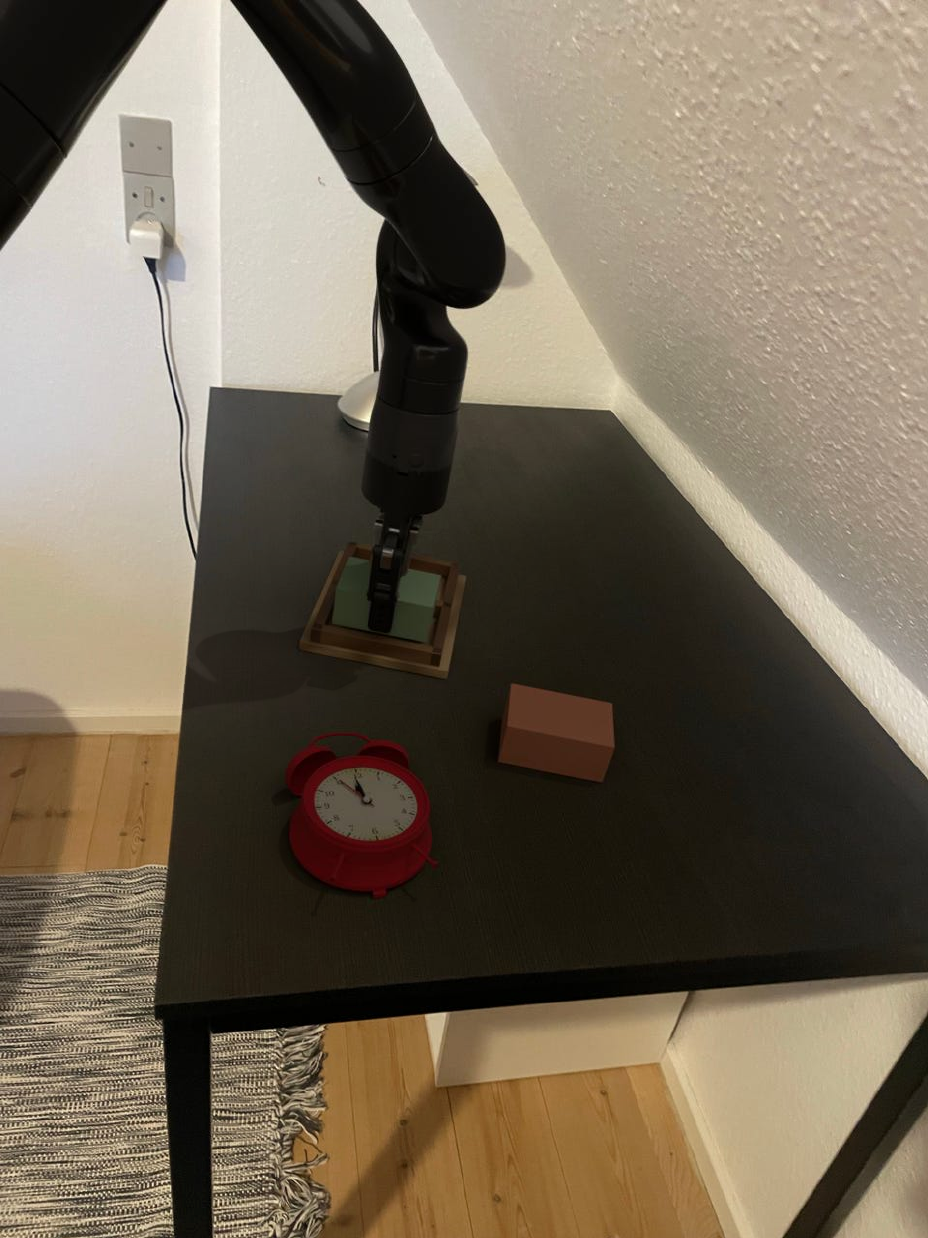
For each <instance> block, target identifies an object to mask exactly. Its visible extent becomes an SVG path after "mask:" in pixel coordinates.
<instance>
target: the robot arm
mask: <svg viewBox="0 0 928 1238" xmlns="http://www.w3.org/2000/svg"><path fill="white" fill-rule="evenodd" d="M168 1H169V0H0V252H1V251H3V248H5V246H6V245H7V243H8V242H9V241H10V239H11V238H12V237H13V235H14V234H15V233H16V232H17V230H18V229H19V228H20V226H21V225H22V223H23V222H24V221H25V219H26V218H27V217H28V216H29V214H30V213H31V210H33V209H34V207H35V205H36V204H37V202H38V201H39V200H40V198H41V197H42V195H43V194H44V192H45V190H46V189H47V188H48V186H49V185H50V183H51V182H52V180H53V179H54V177H55V176H56V174H57V173H58V171H59V170H60V168H61V167H62V165H64V162H65V160H67V158H68V157H69V155H70V154H71V152H72V150H73V149H74V147H75V146H76V143H77V142H78V141H79V139H80V137H81V135H82V134H83V132H84V130H85V129H86V127H87V126H88V124H89V122H90V121H91V119H92V118H93V116H94V114H95V113H96V111H97V110H98V109H99V107H100V105H101V104H102V103H103V101H104V99H105V98H106V96H107V95H108V93H109V92H110V90H111V89H112V87H114V85H115V83H116V82H117V80H118V79H119V77H120V76H121V74H122V73H123V71H124V70H125V69H126V67H127V66H128V65H129V63H130V61H131V60H132V58H133V56H134V55H135V53H136V52H137V50H138V49H139V47H140V45H141V44H142V43H143V41H144V39H145V38H146V36H147V34H148V33H149V31H150V30H151V28H152V26H153V25H154V23H155V22H156V20H157V18H158V17H159V15H160V14H161V13H162V11H163V9H164V8H165V6H166V5H167V3H168ZM229 2H231V4H232V6H233V7H234V8H235V9H236V11H237V12H238V13H239V15H240V16H241V17H242V19H243V20H244V21H245V23H246V25H247V26H248V27H249V28H250V30H251V31H252V33H253V34H254V35H255V37H256V38H257V39H258V41H259V43H260V44H261V45H262V46H263V48H264V49H265V51H266V52H267V53H268V55H269V56H270V58H271V59H272V61H273V62H274V64H275V65H276V66H277V68H278V70H279V71H280V72H281V74H282V75H283V77H284V79H285V80H286V82H287V83H288V85H289V86H290V88H291V90H292V91H293V93H294V94H295V96H296V97H297V99H298V100H299V101H300V103H301V104H302V106H303V108H304V110H305V111H306V113H307V115H308V116H309V118H310V120H311V121H312V123H313V125H314V127H315V129H316V130H317V132H318V134H319V135H320V137H321V139H322V141H323V142H324V144H325V146H326V149H328V151H329V153H330V155H331V156H332V158H333V159H334V161H335V163H336V164H337V167H338V168H339V170H340V171H341V173H342V175H343V176H344V178H345V180H346V181H347V183H348V185H349V186H350V188H351V189H352V190H353V192H354V193H355V194H356V195H357V197H358V198H359V200H360V201H362V202H363V203H364V204H365V205H366V206H367V207H369V208H370V209H371V210H373V211H374V212H376V213H377V214H378V215H380V216H381V217H383V221H382V223H381V226H380V228H379V232H378V235H377V241H376V248H375V278H376V289H377V302H378V313H379V319H380V327H381V332H382V333H381V334H382V351H381V357H380V363H379V371H378V378H377V387H376V393H375V399H374V403H373V405H372V410H371V413H370V417H369V425H368V431H367V438H366V439H367V441H366V446H365V456H364V463H363V471H362V477H361V485H360V487H361V488H360V489H361V493H362V496H363V497H364V498H365V499H366V501H368V502H369V503H370V504H371V505H373V506H375V507H377V508H378V509H379V512H378V518H377V517H376V519H375V520H374V525H373V531H372V536H373V539H374V541H373V545H372V546H373V548H372V556H371V561H370V568H371V572H370V580H369V588H368V591H367V595H366V596H367V600H368V601H371V605H370V612H369V618H368V628H369V629H370V630H372V631H377V632H382V633H389V632H390V631H391V628H392V624H393V618H394V611H395V605H396V602H397V599H398V598H399V595H400V592H399V588H400V583H401V578H402V577H403V576H405V575H406V574H407V573H408V571H409V566H410V561H411V556H412V554H413V551H415V550H416V548H417V543H418V539H419V534H420V533H421V529H422V526H423V521H424V516H427V515H431V514H434V513H437V512H438V511H439V510H440V509H442V507H443V506H444V505H445V503H446V501H447V494H448V489H449V483H450V478H451V474H452V473H451V472H452V466H453V462H454V458H455V457H454V456H455V452H456V446H457V445H456V444H457V441H458V436H459V435H458V434H459V424H460V423H459V418H460V407H461V406H460V405H461V401H462V397H463V391H464V386H465V380H466V373H467V369H468V363H469V362H468V361H469V348H468V344H467V341H466V339H465V338H464V337H463V335H462V334H461V333H460V332H459V331H458V330H457V329H456V327H455V326H454V324H452V322H451V320H450V318H449V314H448V308H451V309H456V310H469V309H474V308H477V307H480V306H482V305H483V304H486V303H487V302H489V301H490V299H492V297H493V296H494V295H495V294H496V293H497V292H498V290H499V289H500V287H501V285H502V282H503V279H504V277H505V273H506V268H507V248H506V241H505V237H504V234H503V231H502V228H501V226H500V223H499V221H498V219H497V217H496V216H495V214H494V212H493V210H492V208H491V207H490V206H489V203H487V201H486V199H485V198H484V197H483V195H482V194H481V193H480V191H479V190H478V188H477V187H476V186H475V184H474V183H473V181H472V180H471V179H470V178H469V176H468V175H467V174H466V172H465V170H464V169H463V167H462V166H461V165H460V164H459V162H458V161H456V159H455V158H454V157H453V155H451V153H450V152H449V151H448V149H447V148H446V146H445V145H444V144H443V142H442V140H441V138H440V136H439V134H438V131H437V128H436V126H435V124H434V122H433V120H432V117H431V116H430V114H429V111H428V110H427V107H426V105H425V103H424V101H423V99H422V97H421V95H420V92H419V90H418V88H417V86H416V84H415V82H414V80H413V77H412V76H411V73H410V71H409V70H408V68H407V65H406V64H405V62H404V61H403V58H402V57H401V55H400V54H399V52H398V50H397V49H396V47H395V46H394V44H393V43H392V41H391V40H390V38H389V37H388V36H387V34H386V33H385V32H384V30H383V29H382V28H381V26H380V25H379V24H378V23H377V21H376V20H375V18H374V17H373V16H372V15H371V14H370V13H369V12H368V10H367V9H366V8H365V7H364V6H363V5H362V4H361V2H360V1H359V0H229ZM378 583H380V584H378ZM381 584H385V585H381ZM386 585H389V586H386Z"/></svg>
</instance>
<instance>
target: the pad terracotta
mask: <svg viewBox="0 0 928 1238" xmlns="http://www.w3.org/2000/svg"><path fill="white" fill-rule="evenodd" d="M504 705H505V706H504V710H503V713H502V717H501V727H500V728H501V729H500V737H499V746H498V756H497V763H502V764H508V765H511V766H516V767H521V768H527V769H531V770H536V771H542V772H546V773H551V774H555V775H561V776H567V777H572V778H576V779H577V778H578V779H582V780H586V781H592V782H596V783H604V779H605V777H606V775H607V771H608V768H609V765H610V762H611V760H612V756H613V754H614V751H615V731H614V730H615V729H614V714H613V713H614V712H613V703H611V702H607V701H603V700H602V701H601V700H596V699H592V698H587V697H583V696H577V695H572V694H567V693H562V692H557V691H552V690H548V689H542V688H537V687H533V686H527V685H523V684H518V683H512V682H511V683H510V686H509V689H508V693H507V698H506V702H505V704H504Z"/></svg>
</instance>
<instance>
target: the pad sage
mask: <svg viewBox="0 0 928 1238" xmlns="http://www.w3.org/2000/svg"><path fill="white" fill-rule="evenodd" d="M370 572H371V568H370V561H369V560H364V559H359V558H354V557H349V559H348V561H347V563H346V566H345V568H344V571H343V573H342V575H341V578H340V580H339V582H338V585H337V587H336V594H335V602H334V610H333V619H332V624H337V625H342V626H347V627H352V628H357V629H362V630H366V631H371V632H376V633H381V634H386V635H391V636H396V637H401V638H406V639H411V640H416V641H421V642H425V643H426V642H427V639H428V635H429V631H430V627H431V622H432V618H433V614H434V610H435V605H436V599H437V594H438V589H439V584H440V578H441V575H437V574H432V573H427V572H422V571H417V570H413V569H409V571H408V573H407V574H406V575H405V576H403V577H402V578H401V583H400V588H399V592H400V595H399V598H398V599H397V602H396V605H395V611H394V618H393V624H392V628H391V631H390V632H389V633H382V632H377V631H372V630H370V629H369V628H368V618H369V612H370V605H371V601H368V600H367V596H366V595H367V591H368V588H369V580H370ZM378 584H380V583H378ZM381 585H385V584H381ZM386 586H389V585H386Z"/></svg>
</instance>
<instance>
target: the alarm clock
mask: <svg viewBox="0 0 928 1238" xmlns="http://www.w3.org/2000/svg"><path fill="white" fill-rule="evenodd" d="M338 736H349V737H351V736H352V737H356V738H360V739H362V740H365V741H366V742H367V743H365V744H364V745H362V746H361V748H360V749H359V751H358V753H357V754H356V755H350V756H345V757H339V758H337V754H336V753H335V752H334V751H333V750H332V749H331V748H330V747H328V746H325V745H314V744H315V743H317V742H318V741H320V740H323V739H327V738H330V737H338ZM409 769H410V759H409V754H408V753H407V751H406V749H405V748H403V746H401V744H398V743H396V742H394V741H391V740H387V739H375V740H371V739H370V738H369V737H367V736H366V735H363V734H361V733H357V732H347V731H340V732H331V733H325V734H322V735H318V736H316V737H315V738H313V739H311V741H310V742H309V744H308V747H306V748H304V749H302V750H301V751H299V752H298V753H296V754H295V755H294V756H293V757H292V758H291V760H290V761H289V762H288V764H287V767H286V769H285V783H286V786H287V788H288V789H289V791H290V792H291V793H292V794H293V795H295V796H300V803H299V804H298V806H297V807H296V808H295V810H294V812H293V814H292V816H291V818H290V822H289V829H288V830H289V831H288V839H289V844H290V847H291V851H292V854H293V855H294V856H295V859H296V860H297V861H298V863H299V864H300V865H301V867H303V868H304V869H305V870H306V871H307V872H308V873H310V875H312V876H313V877H315V878H317V879H318V880H320V881H321V882H323V883H326V884H327V885H331V886H334V887H335V888H339V889H343V890H348V891H355V892H372V894H373V896H372V899H373V900H374V899H381V898H386V897H387V894H388V891H387V890H386V889H391V888H394V887H397V886H399V885H401V884H403V883H405V882H407V881H409V880H410V879H412V878H413V877H414V876H415V875H417V874H418V873H419V872H420V871H421V870H422V869H423V867H424V866H425V865H426V863H427V861H428V862H429V863H430V864H431V868H432V869H433V868H434V869H435V868H437V867H438V866H439V863H438V861H436V860H433V859H432V858H431V857H429V856H430V854H431V849H432V844H433V833H432V828H431V825H430V822H429V821H430V816H431V803H430V799H429V794H428V792H427V789H426V787H425V786H424V784H423V783H422V782H421V780H420V779H419V778H418V777H417V776H416V775H415V774H414V773H412V771H410V770H409Z"/></svg>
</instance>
